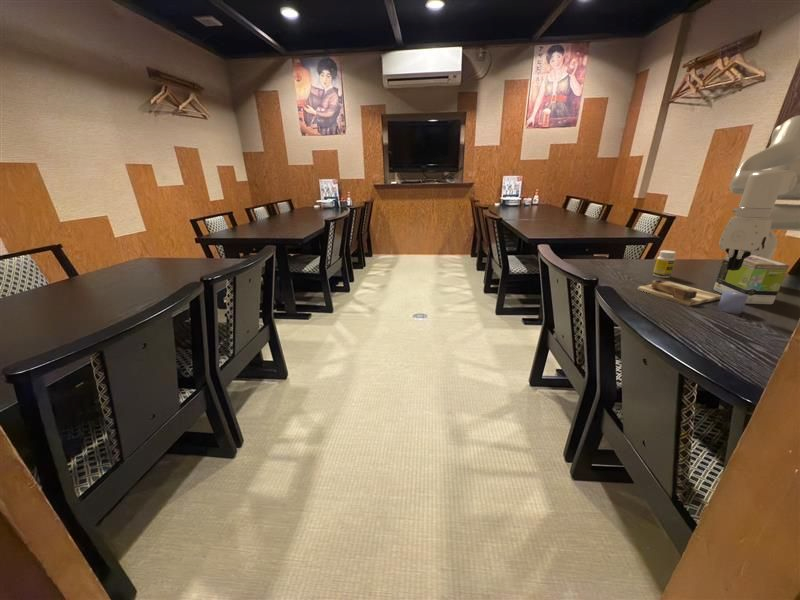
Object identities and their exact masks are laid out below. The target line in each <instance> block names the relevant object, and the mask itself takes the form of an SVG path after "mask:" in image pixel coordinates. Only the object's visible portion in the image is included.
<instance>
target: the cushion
mask: <svg viewBox="0 0 800 600" xmlns="http://www.w3.org/2000/svg"><path fill="white" fill-rule="evenodd" d="M721 296H722V297H721V299H719V302H718V305H717V308H718V309H719V310H718V309H717V310H718V311H721V312H723V311H724V312H723V313H727V314H735V315H737V314H738V315H741V314H742V313H743V310H744V308H745V306H746V304H747V303H746V300H747V298H748V295H746V294H744V293H740V292H734V291H724V292H723V294H722V293H721Z"/></svg>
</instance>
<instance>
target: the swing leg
mask: <svg viewBox="0 0 800 600" xmlns="http://www.w3.org/2000/svg"><path fill="white" fill-rule="evenodd" d="M651 284H652V285H651ZM651 284H650V285H651V287H652V288H656V289H659V290H663V291H666V292H669V293H672V294H674V292H675V289H676V288H681V289H685V290H687V292H686V295H685V298H688V299H691V298H695V297H696V294H697V291H693V290H690V289H686V288H683V287H680V286H676V285H673V284H669V283H666V281H663V280H662V279H660V278H659V279H653V280H652V282H651Z"/></svg>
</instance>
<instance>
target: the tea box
mask: <svg viewBox="0 0 800 600" xmlns="http://www.w3.org/2000/svg"><path fill="white" fill-rule="evenodd" d="M729 258H730V257H728V254H725V255H724V256H723V259H722V260H723V261H722V264H721V266H720V269H719V271H718V274H717V277H716V279H715V283H714V287H713V291H716V292H717V293H720V294H721V295H722V294H723V292H724V291H734V292H740V293H744V294H746V295H748V298H747V300H746V303H745V304H750V305H751V304H752V305H753V304H754V305H772V304H774V303H775V300H776V297H777V295H778V293H779V291H780V288H781V285H782V284H783V282H784V279H785V277H786V275H787V272H788V270H789V267H790V264H789V263H785V262H781V261H777V260H773V259H772V258H771V259H767V258H763V257H760V256H756V255H751V256H749V257H747V258H746V259H744V261H743V263H742V266H741V268H740V269H739V270H734V271H732V270H728V269H727V264H728V261H729Z"/></svg>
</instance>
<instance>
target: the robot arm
mask: <svg viewBox="0 0 800 600" xmlns="http://www.w3.org/2000/svg"><path fill="white" fill-rule="evenodd" d="M770 141H771V143H770V145H769V146H768V147H766V148H764V149H762V150H760V151H759V152H757V153H754V154H753V155H750V156H749V157H748V158H746V159H745V160H743V162H741V164H740V165H739V166H738V168H737V169H736V171H735V173H734V175H733V177H732V178H731V180H730V183H729V191H730V193H732V195H733V194H734V195H738V196H739V195H740V196H741V199H740V202H739V204H738V206H737V208H735V207H734V208H733V209H732V213H735V216H731V218H730V219H729V220H728V222H727V223H726V225H725V227H724V229H723V232H722V234H721V237H720V239H719V241H718V242H719V243H718V245H719V249H720V250H722V251H724V252H725V253H727V255H728V257H730V258H729V261H728V264H727V269H728V270H732V271H734V270H739V269H740V268H741V266H742V263H743V261H744V259H746V258H747V257H749V256H751V255H756V256H760V257H763V258H767V259H771V260H772V257H773V255H774V252H775V250H776V248H777V245H778V243H779V241H778V237H777V236H776V234H775V233H774V231H776V230H779V231H793V232H800V204H793V203H789V204H788V203H776V201H800V115H796V116H792V117H790V118H789V119H786V120H785V121H784V122H782V124H779V125H777V126H776V127H775V128H774V129H773V131H772V134H771V139H770ZM773 230H774V231H773Z"/></svg>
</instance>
